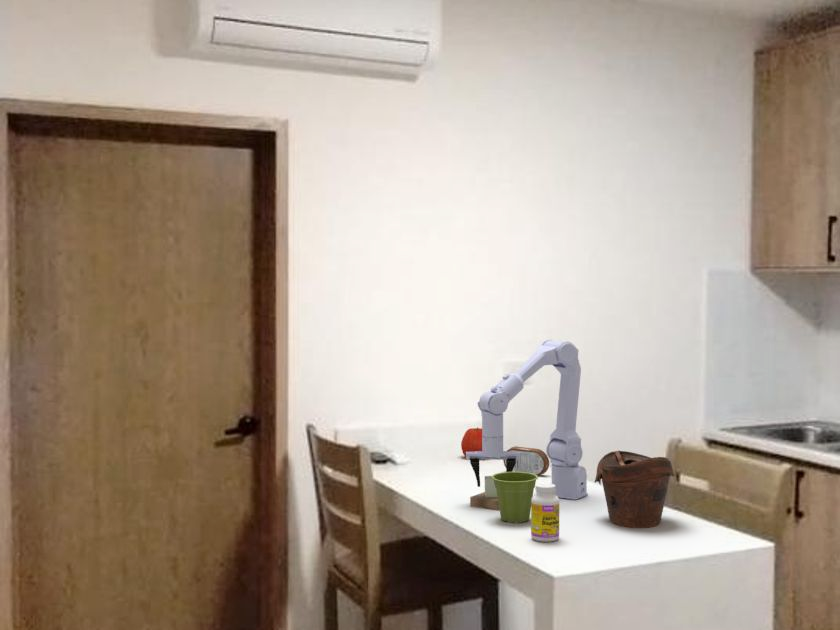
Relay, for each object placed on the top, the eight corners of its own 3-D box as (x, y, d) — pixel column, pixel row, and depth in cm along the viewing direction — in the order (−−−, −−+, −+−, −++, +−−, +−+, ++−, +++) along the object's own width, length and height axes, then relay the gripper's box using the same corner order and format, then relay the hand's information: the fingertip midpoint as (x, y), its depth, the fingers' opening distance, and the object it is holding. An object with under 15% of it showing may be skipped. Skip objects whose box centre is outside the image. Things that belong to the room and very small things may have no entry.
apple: (459, 460, 337) (459, 429, 337) (463, 454, 348) (463, 424, 347) (491, 461, 335) (491, 429, 335) (494, 455, 346) (494, 424, 346)
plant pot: (483, 517, 259) (483, 474, 258) (523, 512, 263) (523, 470, 263) (505, 527, 248) (505, 482, 247) (546, 522, 253) (546, 478, 252)
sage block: (501, 493, 274) (500, 475, 274) (502, 497, 270) (502, 478, 270) (484, 493, 274) (484, 475, 274) (485, 497, 270) (485, 479, 270)
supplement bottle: (540, 543, 233) (540, 489, 232) (526, 537, 239) (525, 483, 238) (564, 540, 236) (564, 486, 235) (550, 534, 242) (550, 481, 241)
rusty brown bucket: (605, 509, 266) (606, 442, 265) (681, 517, 257) (682, 448, 255) (584, 525, 250) (584, 454, 249) (664, 535, 241) (664, 461, 240)
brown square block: (515, 505, 273) (515, 494, 273) (499, 512, 266) (499, 501, 266) (487, 501, 278) (487, 490, 278) (470, 508, 271) (470, 497, 271)
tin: (549, 476, 310) (549, 449, 310) (545, 477, 308) (545, 450, 307) (506, 471, 318) (506, 445, 318) (502, 473, 316) (501, 446, 315)
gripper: (518, 433, 275) (518, 482, 276) (465, 434, 276) (466, 482, 276) (520, 438, 268) (520, 488, 268) (466, 438, 269) (466, 488, 269)
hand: (492, 486), depth 272 cm, fingers open, 7 cm apart
